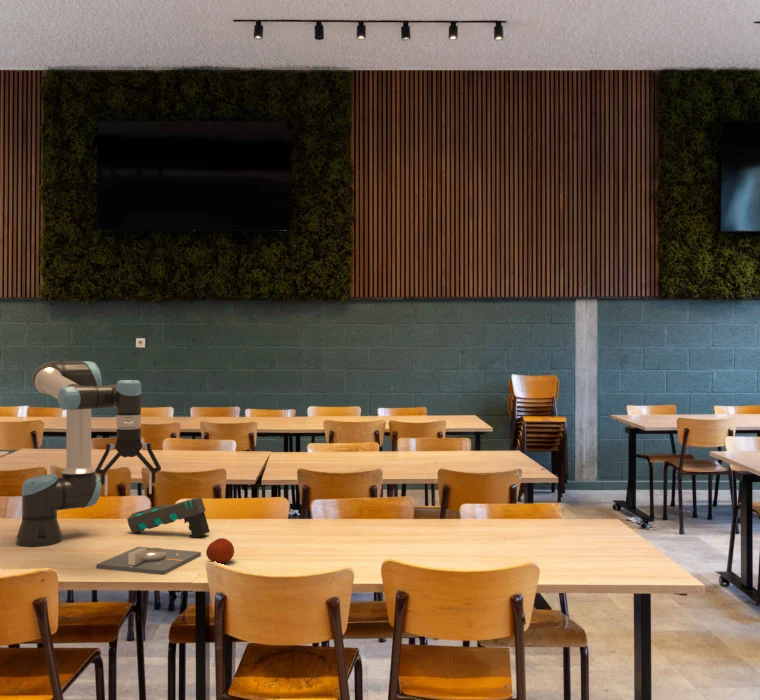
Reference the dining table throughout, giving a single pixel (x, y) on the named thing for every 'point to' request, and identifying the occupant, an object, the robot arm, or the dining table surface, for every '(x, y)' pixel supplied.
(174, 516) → the gun
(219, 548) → the fruit
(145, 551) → the dial
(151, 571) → the panel
